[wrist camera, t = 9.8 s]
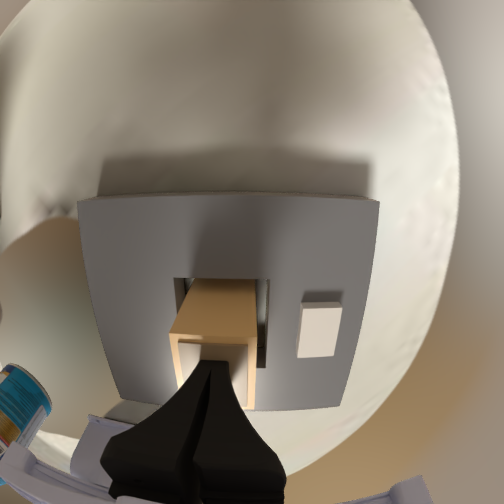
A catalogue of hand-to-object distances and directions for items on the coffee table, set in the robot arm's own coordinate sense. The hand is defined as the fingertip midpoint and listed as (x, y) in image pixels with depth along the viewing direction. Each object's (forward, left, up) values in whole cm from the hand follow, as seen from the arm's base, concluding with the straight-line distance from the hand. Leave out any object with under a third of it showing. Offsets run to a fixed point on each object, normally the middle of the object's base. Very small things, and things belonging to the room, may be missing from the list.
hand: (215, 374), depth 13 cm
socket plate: (0, 0, -7) cm, 7 cm away
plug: (0, 0, -7) cm, 7 cm away
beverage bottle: (-26, -14, -7) cm, 30 cm away
